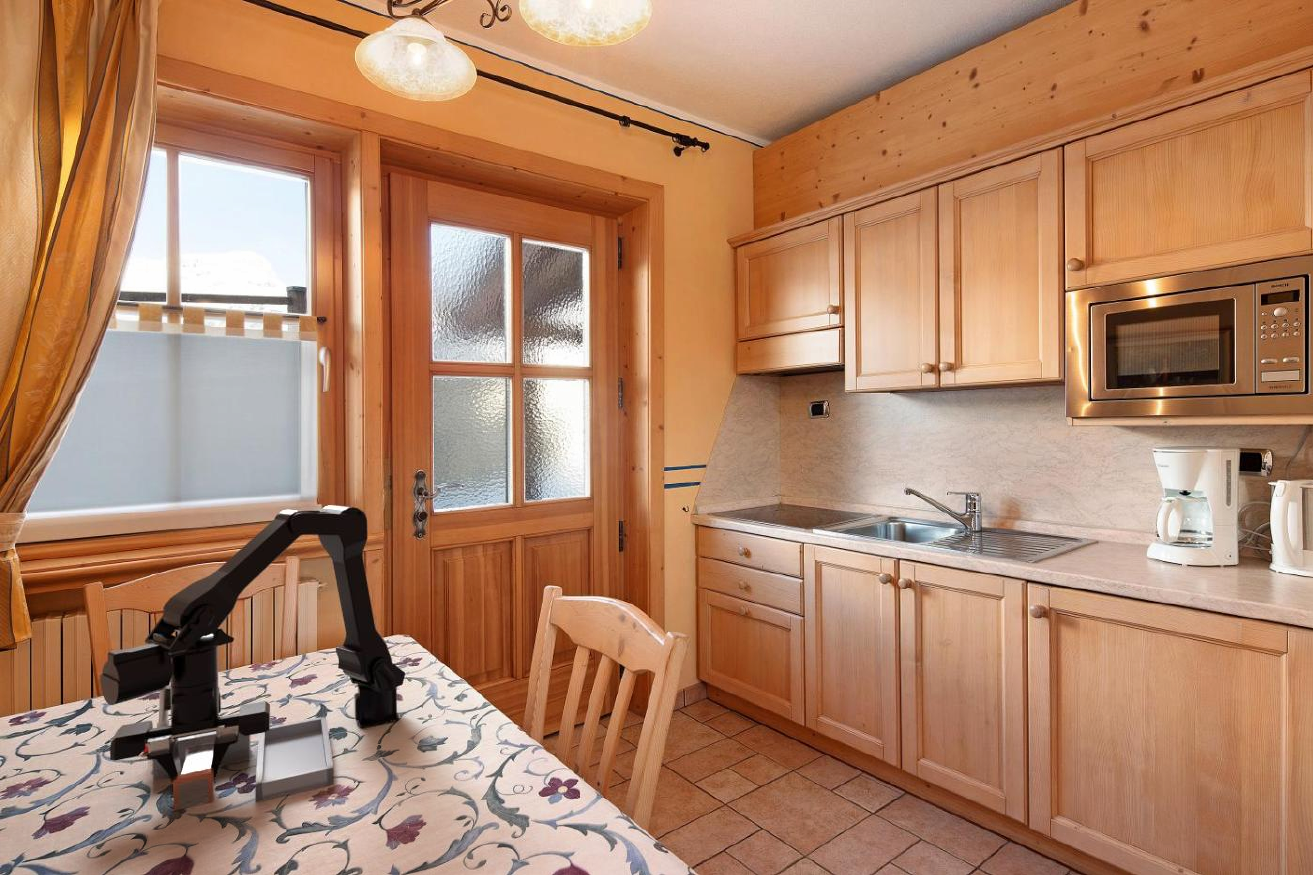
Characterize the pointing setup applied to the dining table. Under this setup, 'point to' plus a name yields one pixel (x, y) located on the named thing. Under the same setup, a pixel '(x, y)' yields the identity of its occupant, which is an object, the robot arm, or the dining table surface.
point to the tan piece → (195, 778)
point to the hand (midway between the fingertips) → (196, 787)
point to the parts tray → (293, 759)
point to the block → (232, 755)
